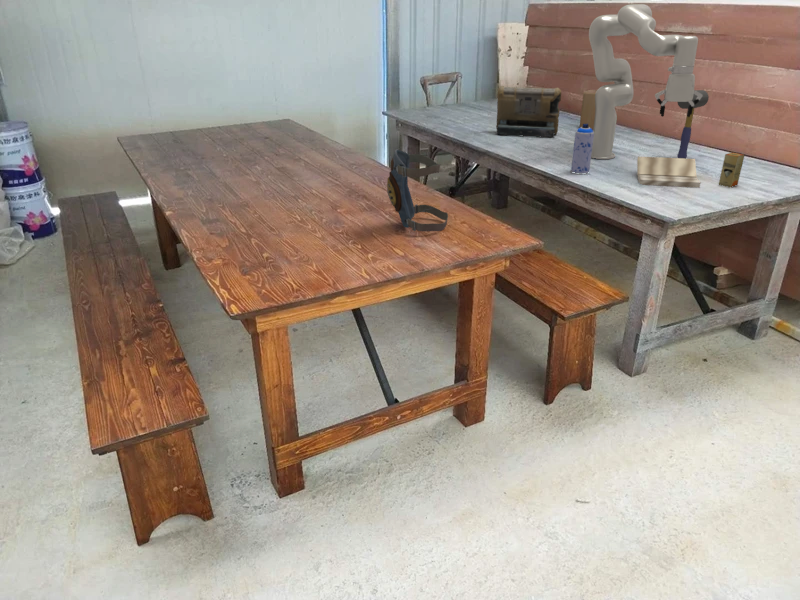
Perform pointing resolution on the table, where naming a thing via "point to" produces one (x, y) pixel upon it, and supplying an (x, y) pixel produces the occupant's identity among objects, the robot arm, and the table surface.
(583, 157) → the aerosol can
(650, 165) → the pale ash plank
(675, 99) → the robot arm
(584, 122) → the wooden block
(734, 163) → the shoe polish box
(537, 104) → the brown boxy block
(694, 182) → the streaked tan wood board
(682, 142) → the rubber mallet
